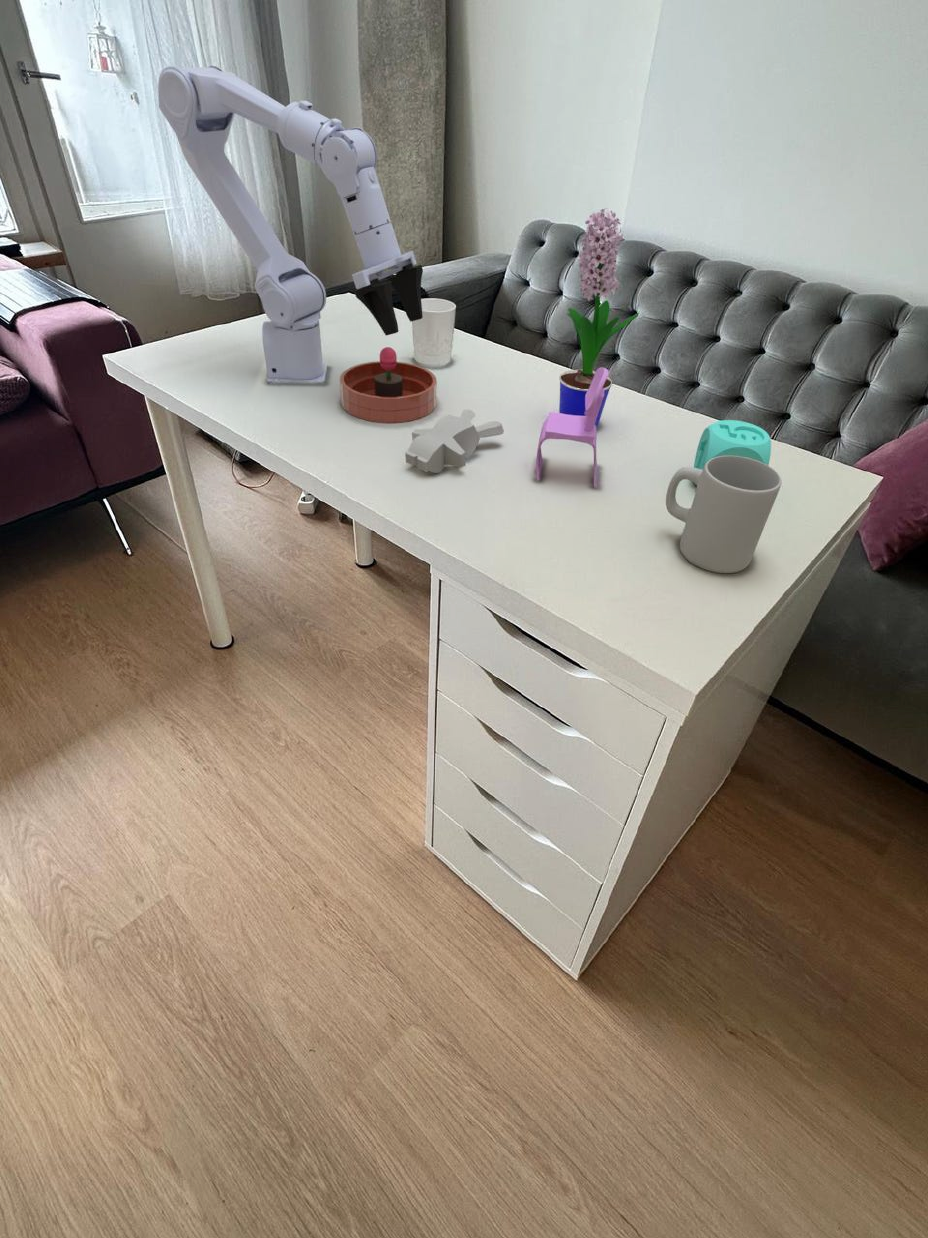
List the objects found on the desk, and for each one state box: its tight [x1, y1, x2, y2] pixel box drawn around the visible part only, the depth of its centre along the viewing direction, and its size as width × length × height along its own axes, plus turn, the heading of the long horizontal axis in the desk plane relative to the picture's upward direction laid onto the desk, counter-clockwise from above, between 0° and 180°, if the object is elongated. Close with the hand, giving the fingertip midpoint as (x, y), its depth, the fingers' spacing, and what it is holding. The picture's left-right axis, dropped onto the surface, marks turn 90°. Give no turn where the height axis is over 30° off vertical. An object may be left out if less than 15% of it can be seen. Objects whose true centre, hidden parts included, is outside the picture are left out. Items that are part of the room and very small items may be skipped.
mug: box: [665, 456, 782, 574], centre depth 79 cm, size 12×8×11 cm
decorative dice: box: [693, 419, 772, 470], centre depth 93 cm, size 8×8×8 cm
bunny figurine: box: [404, 409, 505, 474], centre depth 96 cm, size 10×5×15 cm
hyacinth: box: [558, 207, 640, 430], centre depth 98 cm, size 9×10×30 cm
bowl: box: [339, 360, 438, 424], centre depth 108 cm, size 15×15×4 cm
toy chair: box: [535, 366, 610, 489], centre depth 90 cm, size 8×9×15 cm
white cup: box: [411, 297, 457, 367], centre depth 122 cm, size 8×8×10 cm
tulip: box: [375, 346, 403, 397], centre depth 106 cm, size 4×4×9 cm
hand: (404, 326), depth 103 cm, fingers open, 7 cm apart
